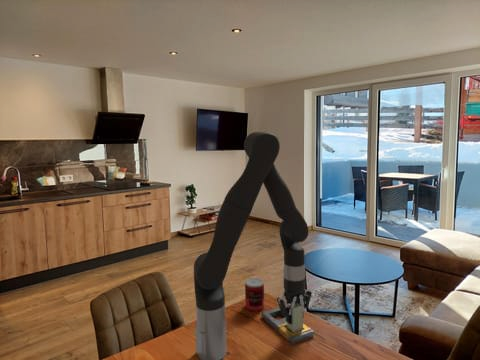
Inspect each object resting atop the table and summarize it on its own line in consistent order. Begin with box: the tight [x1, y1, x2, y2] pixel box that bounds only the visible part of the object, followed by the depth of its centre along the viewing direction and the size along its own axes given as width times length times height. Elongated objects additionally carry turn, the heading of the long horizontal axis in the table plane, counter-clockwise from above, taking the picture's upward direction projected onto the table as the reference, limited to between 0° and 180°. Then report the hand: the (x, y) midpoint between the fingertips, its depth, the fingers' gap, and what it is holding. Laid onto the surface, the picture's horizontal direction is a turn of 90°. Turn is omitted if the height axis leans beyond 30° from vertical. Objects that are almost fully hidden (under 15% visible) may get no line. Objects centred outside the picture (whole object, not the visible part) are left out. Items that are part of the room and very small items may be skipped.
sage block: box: [287, 303, 304, 333], centre depth 121 cm, size 4×4×9 cm
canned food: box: [244, 277, 265, 313], centre depth 140 cm, size 8×8×11 cm
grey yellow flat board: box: [261, 306, 314, 345], centre depth 126 cm, size 9×20×2 cm, turn 27°
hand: (294, 321), depth 121 cm, fingers closed on sage block, 4 cm apart
